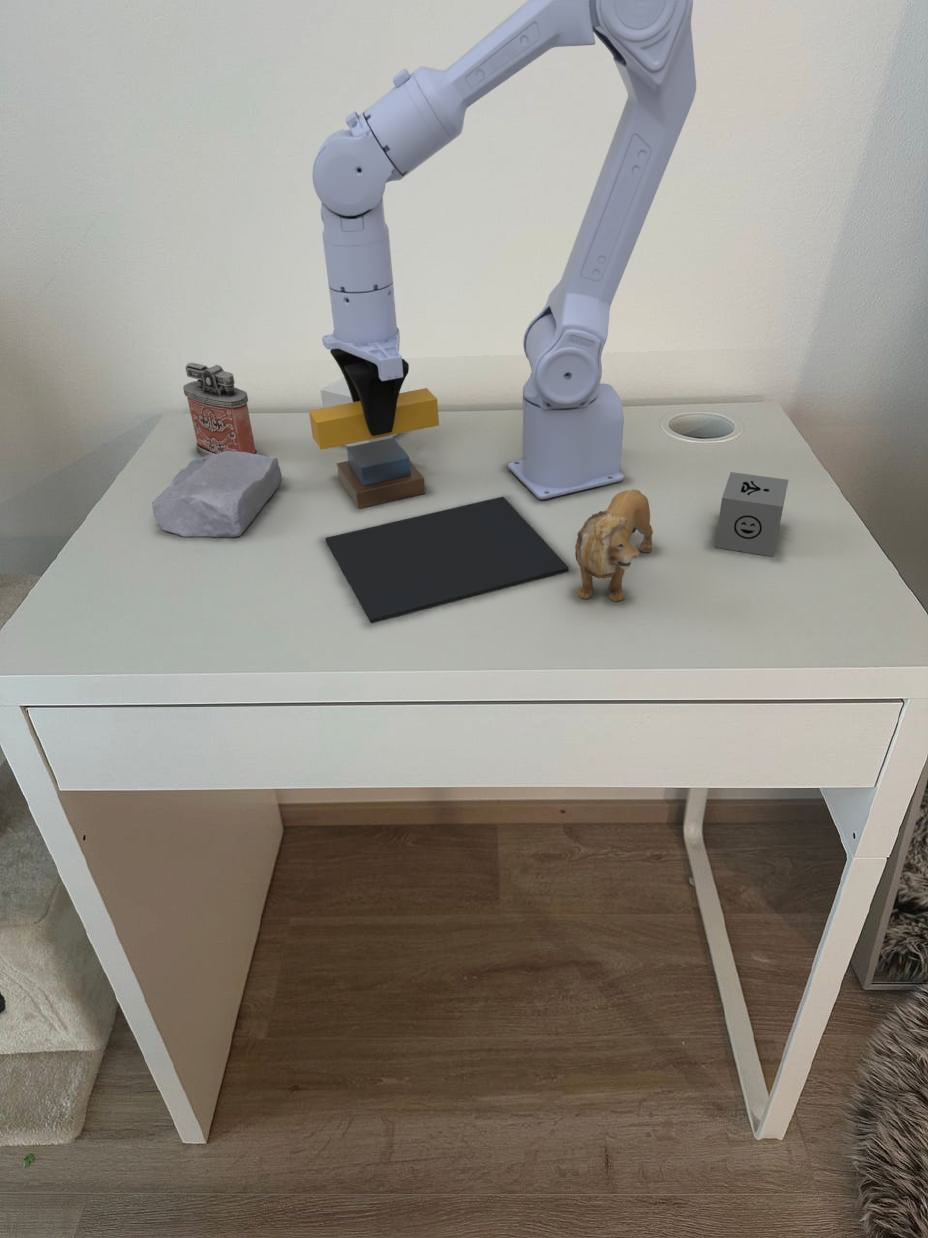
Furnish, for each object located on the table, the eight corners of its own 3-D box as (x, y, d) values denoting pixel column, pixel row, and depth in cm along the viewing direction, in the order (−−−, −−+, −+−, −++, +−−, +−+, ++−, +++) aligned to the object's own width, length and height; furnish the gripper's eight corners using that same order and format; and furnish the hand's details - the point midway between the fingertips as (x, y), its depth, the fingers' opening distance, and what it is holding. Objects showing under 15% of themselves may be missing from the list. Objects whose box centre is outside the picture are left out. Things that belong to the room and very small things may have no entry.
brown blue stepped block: (402, 464, 99) (399, 431, 96) (425, 493, 93) (423, 459, 91) (338, 478, 97) (334, 444, 94) (358, 508, 91) (354, 474, 89)
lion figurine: (630, 631, 74) (639, 533, 69) (564, 621, 75) (567, 524, 70) (657, 537, 85) (666, 446, 80) (599, 529, 86) (604, 440, 81)
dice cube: (723, 520, 87) (730, 471, 84) (779, 528, 85) (788, 479, 83) (714, 547, 83) (722, 497, 80) (773, 556, 82) (782, 506, 79)
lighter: (266, 457, 101) (250, 368, 95) (244, 470, 99) (226, 379, 93) (212, 441, 105) (194, 354, 99) (190, 453, 102) (170, 365, 97)
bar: (428, 413, 94) (426, 387, 92) (438, 425, 92) (437, 398, 90) (312, 437, 91) (308, 410, 89) (320, 449, 89) (316, 422, 87)
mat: (503, 499, 92) (503, 496, 91) (568, 571, 81) (569, 567, 81) (325, 541, 87) (325, 537, 86) (371, 623, 76) (370, 619, 76)
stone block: (155, 549, 90) (247, 539, 87) (134, 505, 87) (228, 492, 84) (208, 494, 99) (292, 483, 96) (191, 452, 97) (277, 439, 94)
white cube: (360, 420, 108) (354, 370, 104) (402, 431, 105) (398, 380, 102) (327, 441, 104) (320, 389, 100) (370, 452, 101) (364, 399, 98)
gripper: (297, 268, 87) (316, 405, 95) (339, 314, 76) (357, 464, 84) (369, 258, 89) (382, 393, 97) (421, 300, 78) (430, 448, 86)
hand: (375, 425), depth 91 cm, fingers closed on bar, 3 cm apart
